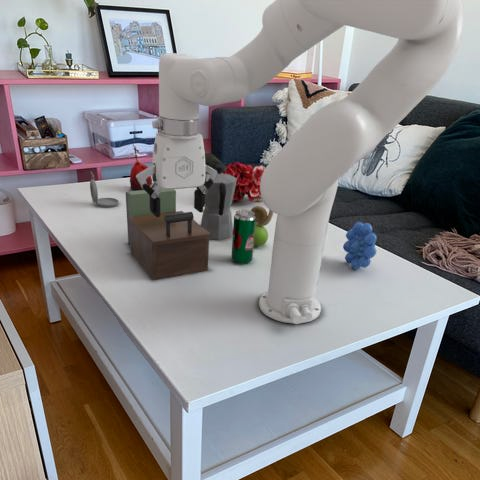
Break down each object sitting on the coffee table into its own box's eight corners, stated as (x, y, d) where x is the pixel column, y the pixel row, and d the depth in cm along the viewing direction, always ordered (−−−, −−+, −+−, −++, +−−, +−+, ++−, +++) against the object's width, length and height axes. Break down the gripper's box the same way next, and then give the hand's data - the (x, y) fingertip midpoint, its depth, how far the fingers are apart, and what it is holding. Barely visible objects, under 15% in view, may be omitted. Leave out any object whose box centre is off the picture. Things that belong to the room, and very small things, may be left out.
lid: (211, 237, 107) (211, 213, 104) (153, 245, 101) (152, 220, 98) (182, 213, 118) (182, 192, 115) (128, 220, 112) (127, 197, 109)
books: (175, 245, 123) (175, 190, 115) (133, 251, 118) (131, 194, 110) (168, 238, 126) (167, 184, 119) (127, 244, 121) (123, 188, 114)
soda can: (248, 266, 115) (252, 217, 108) (228, 262, 116) (231, 214, 110) (254, 258, 119) (259, 211, 113) (235, 254, 120) (238, 207, 114)
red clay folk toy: (157, 191, 159) (156, 144, 151) (139, 195, 154) (138, 146, 146) (142, 186, 163) (140, 139, 155) (124, 189, 158) (122, 141, 150)
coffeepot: (196, 224, 136) (198, 158, 126) (229, 225, 137) (233, 159, 128) (202, 247, 123) (204, 175, 113) (238, 246, 124) (243, 176, 115)
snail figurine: (269, 251, 123) (274, 205, 117) (244, 247, 124) (248, 201, 118) (272, 243, 128) (277, 198, 122) (248, 240, 129) (252, 195, 122)
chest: (208, 270, 112) (209, 236, 107) (153, 280, 106) (152, 244, 101) (181, 246, 122) (182, 214, 118) (130, 254, 116) (128, 220, 112)
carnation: (202, 200, 179) (260, 226, 154) (167, 170, 165) (224, 193, 141) (226, 164, 178) (288, 185, 153) (193, 131, 165) (254, 148, 140)
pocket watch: (123, 204, 146) (121, 170, 141) (102, 211, 140) (99, 176, 134) (103, 198, 149) (101, 165, 144) (82, 204, 143) (78, 170, 138)
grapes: (383, 277, 115) (395, 229, 108) (358, 280, 113) (369, 231, 106) (357, 257, 124) (367, 212, 118) (334, 259, 122) (343, 213, 116)
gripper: (142, 132, 87) (144, 223, 96) (227, 130, 95) (222, 214, 104) (128, 123, 92) (131, 210, 101) (210, 122, 100) (206, 203, 109)
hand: (177, 212), depth 102 cm, fingers open, 9 cm apart
